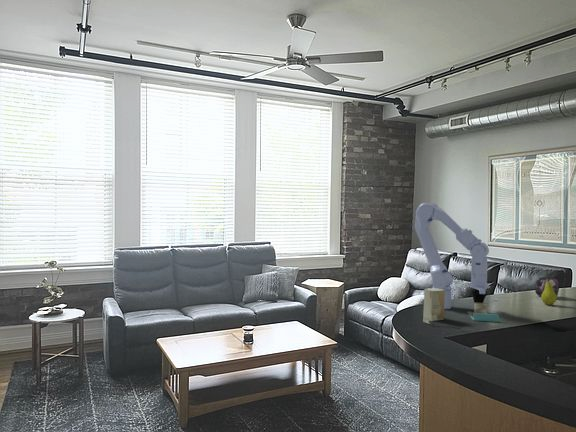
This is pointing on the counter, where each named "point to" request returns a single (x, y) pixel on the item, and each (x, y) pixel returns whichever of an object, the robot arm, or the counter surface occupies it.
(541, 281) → the mineral specimen
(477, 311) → the maple block
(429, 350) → the counter surface
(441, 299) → the skincare box
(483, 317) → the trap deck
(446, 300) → the robot arm
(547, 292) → the fruit
